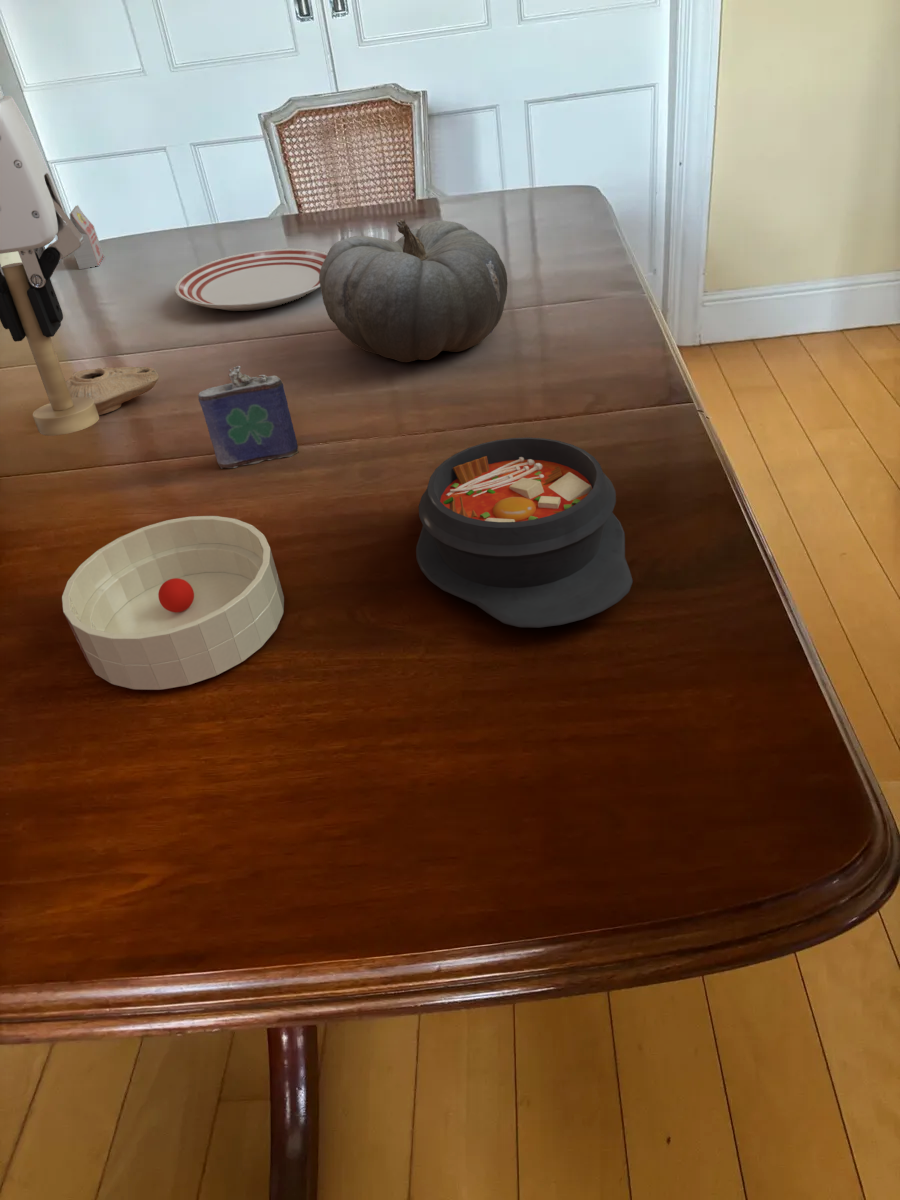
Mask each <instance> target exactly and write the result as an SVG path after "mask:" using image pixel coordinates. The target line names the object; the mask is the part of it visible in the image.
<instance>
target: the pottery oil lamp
mask: <svg viewBox="0 0 900 1200" xmlns="http://www.w3.org/2000/svg"><path fill="white" fill-rule="evenodd" d="M159 378H160V376H159V374H158V372H157V371H156V370H155V368H153V367H150V366H121V367H102V368H101V367H100V368H99V367H98V368H91V369H90V368H89V369H82V370H78V371H75V372H74V373H73V374H72V375H71V377H69V378H68V379H67V380H65V381H66V384H67V387H68V389H69V392H70V395H71V398H75V397H86V398H91V399H93V401H94V403H95V406H96V409H97V412H98V415H99V416H101V415H106V414H109V413H111V412H113V411H116V410H118V409H120V408H121V407H122V404H123V403H125V402H128V401H130V400H132V399H134V398H136V397H138V396H141V395H144V394H146V393H148V392H149V391H150V390H152V389H153V388H154V387H155V386H156V385H157V382H158V381H159Z"/></svg>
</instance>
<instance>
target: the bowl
mask: <svg viewBox="0 0 900 1200" xmlns="http://www.w3.org/2000/svg"><path fill="white" fill-rule="evenodd" d="M279 577H280V576H279V574H278V570H277V567H276V564H275V560H274V556H273V552H272V549H271V546H270V544H269V542H268V540H267V537H266V535H265V534H263V533H262V531H260V530H259V529H257V528H256V526H254V525H252V524H251V523H248V522H245V521H243V520H240V519H237V518H235V517H226V516H219V515H198V516H197V515H192V516H184V517H179V518H172V519H167V520H163V521H159V522H156V523H153V524H149V525H145V526H142V527H140V528H138V529H135V530H133V531H131V532H129V533H126V534H124V535H121V536H119V537H117V538H115V539H114V540H112V541H111V542H108V543H107V544H106V545H104V546H102V547H101V548H99V549H97V550H96V551H95V552H94V553H92V554H91V555H90V556H89V557H88V558H87V559H85V560H84V561H83V562H82V563H80V565H79V566H78V567H77V568H76V569H75V571H74V572H73V573H72V574H71V576H70V577H69V578H68V580H67V582H66V584H65V587H64V590H63V592H62V595H61V603H62V612H63V615H64V616H65V619H66V622H67V623H68V625H69V627H70V630H71V631H72V634H73V636H74V637H75V640H76V642H77V644H78V646H79V648H80V650H81V652H82V654H83V656H84V659H85V661H86V663H87V664H88V665H89V667H90V668H91V670H92V671H93V673H94V674H95V675H96V676H98V677H99V678H101V679H103V680H104V681H106V682H107V683H109V684H111V685H114V686H117V687H118V686H119V687H122V688H127V689H130V690H137V691H139V690H141V691H143V690H144V691H146V690H147V691H160V690H161V691H162V690H168V689H173V688H174V689H175V688H179V687H185V686H190V685H193V684H195V683H199V682H202V681H205V680H208V679H211V678H214V677H217V676H218V675H220V674H223V673H224V672H227V671H228V670H231V669H232V668H234V667H236V666H238V665H240V664H241V663H243V662H244V661H246V660H247V659H248V658H250V657H251V656H252V655H253V654H254V653H256V652H257V651H259V650H260V649H261V648H263V646H265V644H266V642H267V641H268V640H269V639H270V638H271V637H272V636H273V634H274V633H275V632H276V631H277V629H278V627H279V624H280V621H281V620H282V618H283V615H284V610H285V595H284V592H283V588H282V585H281V581H280V578H279ZM174 578H179V579H183V580H185V581H187V582H188V583H189V584H190V585H191V587H192V588H193V591H194V599H193V602H192V604H191V606H190V607H189V608H187V609H186V610H184V611H182V612H171V611H168V610H166V609H165V608H164V607H163V606H162V605H161V603H160V601H159V597H158V593H159V589H160V587H161V586H162V584H163V583H164V582H166V581H167V580H170V579H174Z"/></svg>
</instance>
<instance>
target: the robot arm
mask: <svg viewBox="0 0 900 1200" xmlns="http://www.w3.org/2000/svg"><path fill="white" fill-rule="evenodd" d="M56 236H57V239H56V240H55V237H56ZM54 240H55V241H54ZM53 241H54V242H53ZM83 242H84V238H83V236H82V235H81V233H80V232H79V231H78V229H77V228H76V227H75V226H74V224H73V223H72V222H71V220H70V217H69V216H68V215H67V214H66V213H65V209H64V205H63V203H62V200H61V197H60V194H59V191H58V189H57V186H56V184H55V182H54V179H53V177H52V175H51V172H50V169H49V167H48V165H47V162H46V161H45V157H44V156H43V153H42V151H41V149H40V147H39V144H38V143H37V140H36V139H35V137H34V135H33V133H32V131H31V129H30V127H29V125H28V123H27V121H26V119H25V117H24V115H23V113H22V112H21V110H20V108H19V106H18V104H17V103H16V101H15V99H14V98H13V96H12V95H3V92H2V89H0V255H2V254H9V253H16V252H17V253H18V255H19V257H20V261H21V263H23V266H24V269H25V271H26V274H27V276H28V282H29V285H30V288H29V289H28V290H27V295H28V298H29V300H30V303H31V306H32V308H33V311H34V313H35V316H36V318H37V321H38V324H39V326H40V329H41V331H42V334H43V336H46V337H53V338H54V337H55V336H56V334H57V332H58V331H59V329H60V328H61V326H62V321H63V320H64V314H63V313H64V312H63V310H62V307H61V304H60V302H59V300H58V297H57V294H56V291H55V289H54V286H53V283H52V280H51V277H52V276H53V275H54V272H55V271H56V268H57V267H58V265H59V263H60V261H61V260H62V259H65V258H66V257H68V256H70V254H73V252H74V251H75V250H77V249H78V248H79V247H80V246H81V245H82V244H83ZM46 246H47V247H46ZM2 267H3V266H2V264H1V263H0V323H1V326H2V327H3V328H4V329H5V330H8V331H9V333H10V336H11V338H12V340H13V342H15V343H17V342H22V341H23V340H24V339H25V338H26V335H25V332H24V329H23V326H22V323H21V321H20V318H19V315H18V312H17V310H16V307H15V304H14V301H13V298H12V296H11V293H10V290H9V287H8V285H7V282H6V279H5V276H4V273H3V271H2Z"/></svg>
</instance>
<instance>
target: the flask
mask: <svg viewBox="0 0 900 1200" xmlns="http://www.w3.org/2000/svg"><path fill="white" fill-rule="evenodd" d="M228 377H229V378H230V379H229V380H230V381H231V382H230V383H225V384H221V385H217V386H212V387H209V388H205V389H203V390H201V391H199V393H198V395H197V398H198V402H199V405H200V407H201V410H202V413H203V417H204V422H205V424H206V426H207V429H208V430H207V431H208V434H209V439H210V441H211V444H212V447H213V450H214V451H213V452H214V455H215V458H216V462H217V464H218V466H219V467H220V469H236V468H239V467H240V466H248V465H255V464H259V463H261V462H264V461H272V460H275V459H281V458H282V459H283V458H290V457H293V456H294V455H296V454H298V453H299V449H298V448H299V445H298V440H297V437H296V433H295V429H294V425H293V422H292V415H291V412H290V408H289V404H288V399H287V395H286V392H285V387H284V383H283V382H282V379H281V378H280V377H278V376H277V375H268V376H267V375H266V374H260V375H259V374H258V377H257V376H250V375H248V374H246V373H243V374H242V372H241V366H240V365H237V366H234V367H233V368H229V374H228Z"/></svg>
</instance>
